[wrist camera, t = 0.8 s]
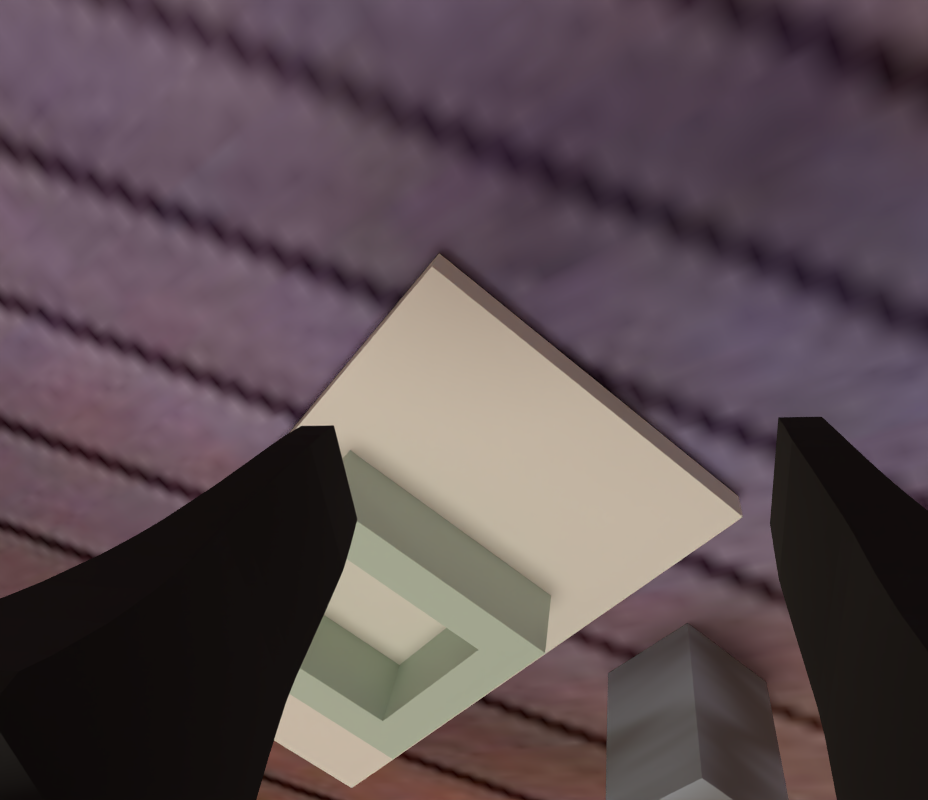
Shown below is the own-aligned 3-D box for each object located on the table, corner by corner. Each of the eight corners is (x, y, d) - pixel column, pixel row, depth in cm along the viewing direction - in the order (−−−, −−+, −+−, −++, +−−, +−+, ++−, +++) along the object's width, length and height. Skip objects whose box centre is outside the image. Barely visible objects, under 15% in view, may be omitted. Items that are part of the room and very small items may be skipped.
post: (766, 681, 29) (797, 844, 24) (683, 727, 31) (696, 886, 26) (687, 622, 28) (701, 778, 23) (608, 673, 30) (605, 826, 25)
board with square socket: (738, 496, 25) (754, 574, 22) (358, 767, 36) (334, 843, 33) (438, 253, 22) (411, 304, 19) (129, 625, 33) (80, 693, 30)
